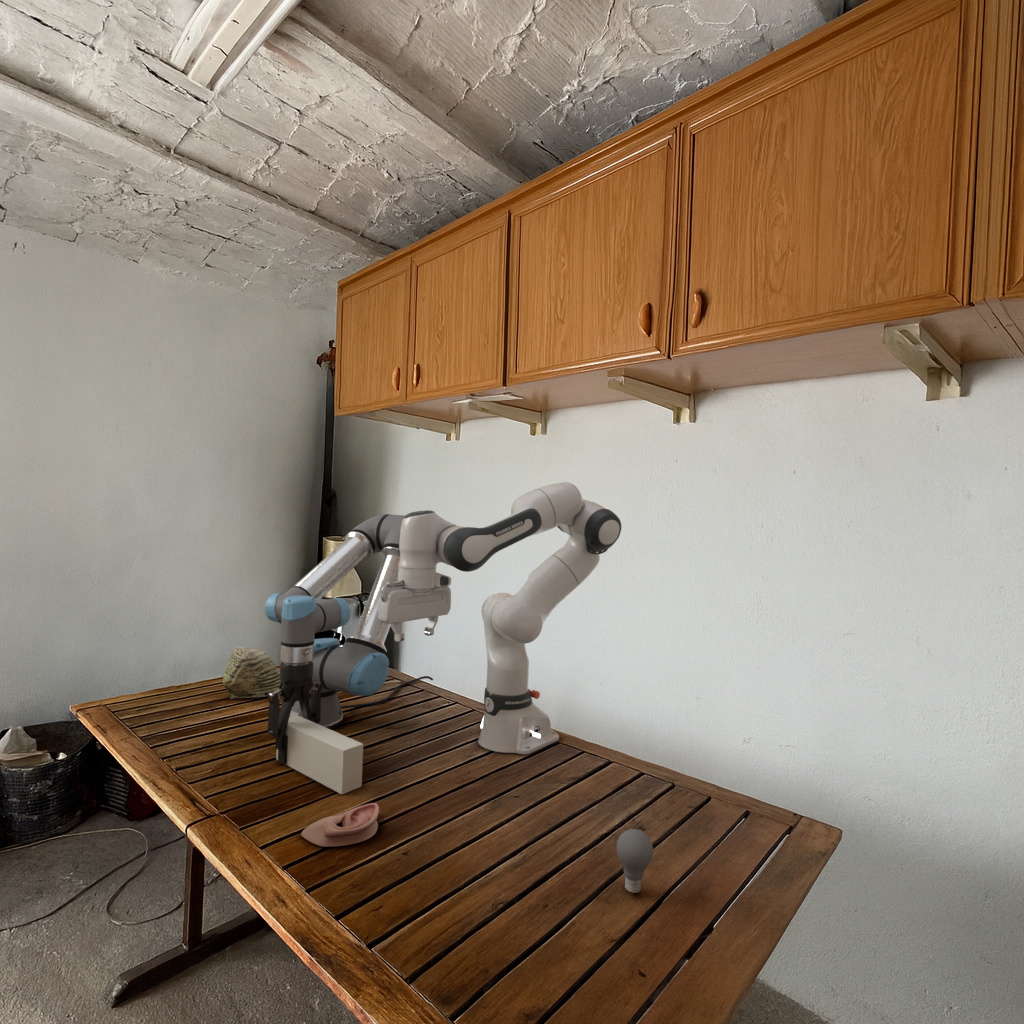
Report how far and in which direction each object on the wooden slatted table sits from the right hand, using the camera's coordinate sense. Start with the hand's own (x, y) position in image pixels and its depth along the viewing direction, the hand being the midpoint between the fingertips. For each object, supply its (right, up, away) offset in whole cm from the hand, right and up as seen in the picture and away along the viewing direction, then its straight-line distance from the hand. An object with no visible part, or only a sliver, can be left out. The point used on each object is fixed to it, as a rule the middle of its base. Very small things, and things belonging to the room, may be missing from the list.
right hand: (414, 638), depth 149 cm
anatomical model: (-10, -31, -29) cm, 44 cm away
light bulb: (+43, -34, -43) cm, 70 cm away
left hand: (-29, -29, +2) cm, 41 cm away
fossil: (-58, -28, +49) cm, 81 cm away
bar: (-22, -30, -4) cm, 37 cm away
